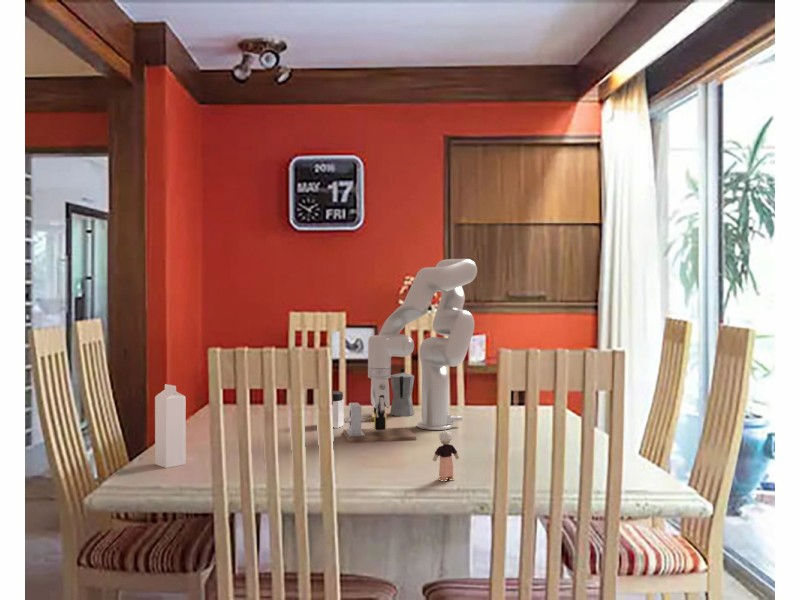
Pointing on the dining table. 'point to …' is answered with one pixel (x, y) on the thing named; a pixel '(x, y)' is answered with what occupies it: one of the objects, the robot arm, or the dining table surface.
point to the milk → (170, 428)
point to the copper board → (382, 435)
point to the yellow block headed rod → (367, 419)
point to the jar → (338, 409)
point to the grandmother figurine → (445, 456)
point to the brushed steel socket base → (355, 421)
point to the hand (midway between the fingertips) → (379, 427)
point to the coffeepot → (402, 394)
